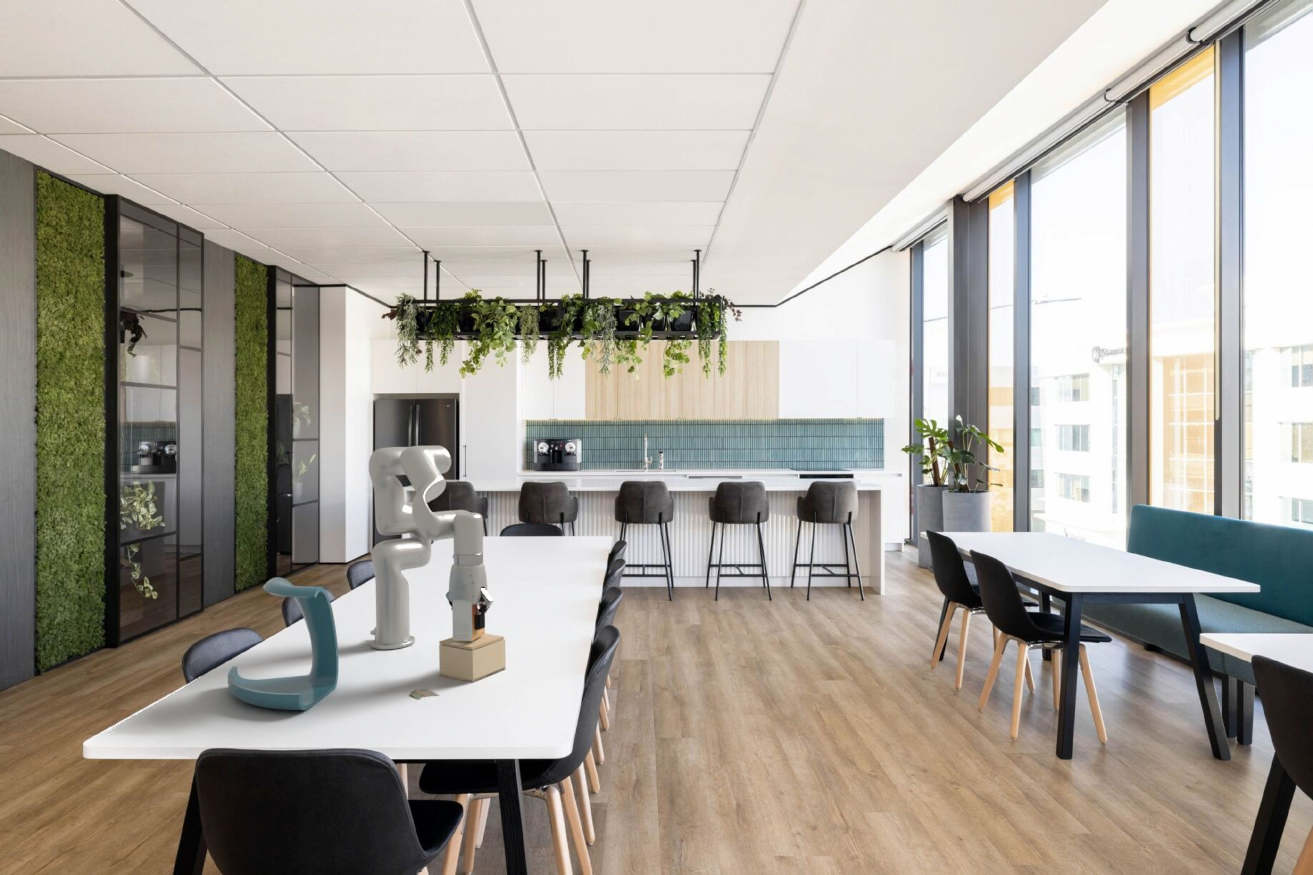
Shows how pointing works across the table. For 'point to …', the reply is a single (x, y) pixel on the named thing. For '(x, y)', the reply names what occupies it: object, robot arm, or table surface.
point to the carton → (472, 661)
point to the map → (423, 693)
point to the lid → (472, 642)
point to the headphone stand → (324, 656)
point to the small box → (465, 621)
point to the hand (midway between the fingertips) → (469, 626)
